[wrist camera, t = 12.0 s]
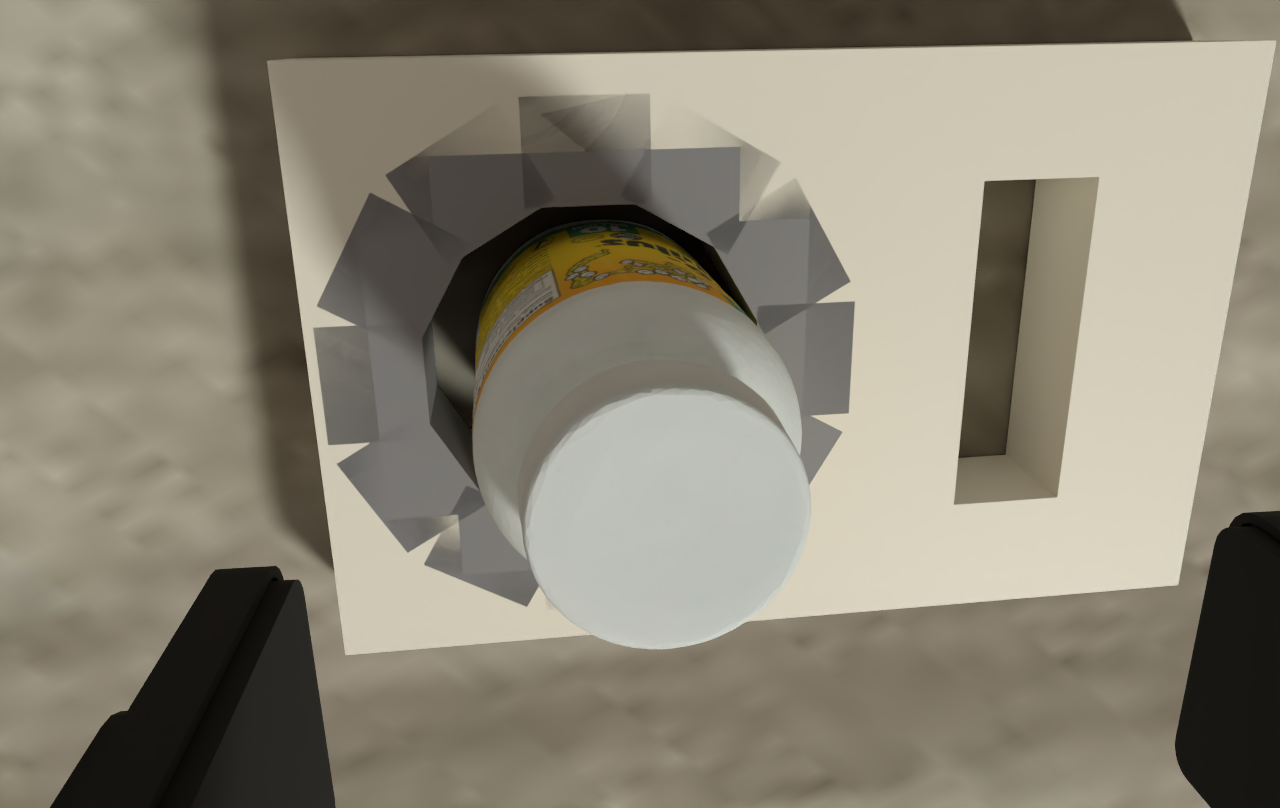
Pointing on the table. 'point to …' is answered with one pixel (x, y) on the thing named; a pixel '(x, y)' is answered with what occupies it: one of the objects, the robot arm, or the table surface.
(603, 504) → the supplement bottle
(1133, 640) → the table surface
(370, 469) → the socket plate
